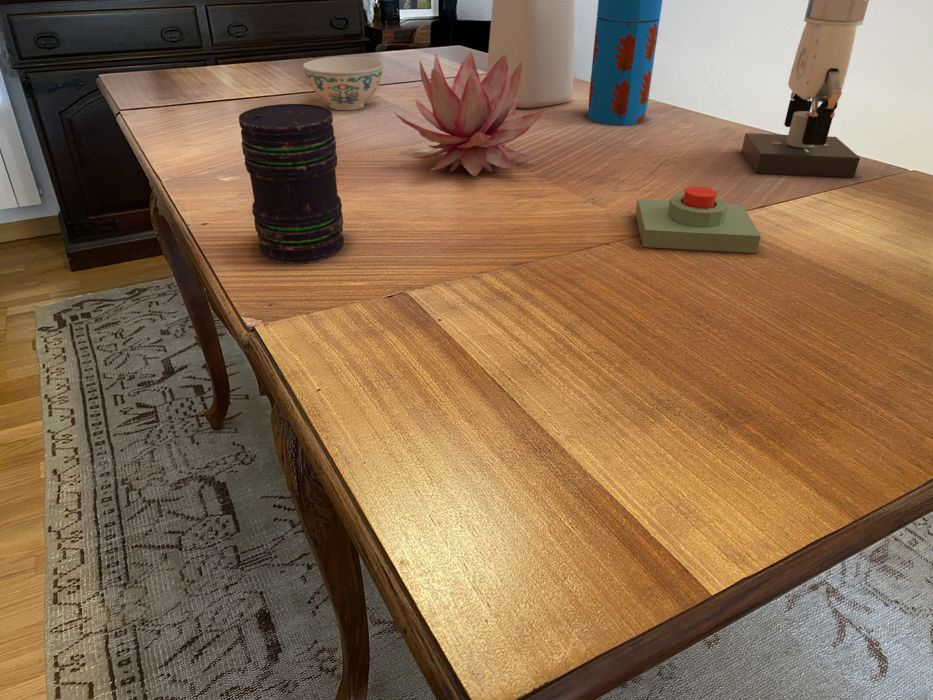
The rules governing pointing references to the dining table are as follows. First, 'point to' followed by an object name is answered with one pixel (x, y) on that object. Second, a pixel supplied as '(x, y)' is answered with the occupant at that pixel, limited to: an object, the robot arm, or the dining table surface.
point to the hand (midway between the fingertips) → (803, 135)
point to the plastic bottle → (535, 47)
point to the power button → (699, 197)
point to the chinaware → (344, 80)
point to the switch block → (696, 226)
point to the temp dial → (798, 129)
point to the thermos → (623, 60)
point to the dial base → (799, 157)
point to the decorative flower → (473, 116)
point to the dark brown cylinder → (293, 181)
